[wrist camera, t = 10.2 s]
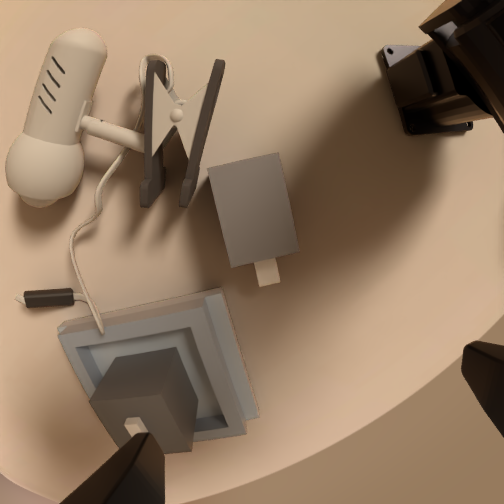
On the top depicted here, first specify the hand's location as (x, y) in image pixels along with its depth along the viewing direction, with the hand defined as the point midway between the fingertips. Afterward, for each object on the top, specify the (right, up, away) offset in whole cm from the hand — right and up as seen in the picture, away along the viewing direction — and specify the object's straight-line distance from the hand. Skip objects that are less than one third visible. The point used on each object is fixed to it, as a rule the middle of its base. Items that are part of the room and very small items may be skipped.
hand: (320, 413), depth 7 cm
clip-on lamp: (-11, +8, +11) cm, 17 cm away
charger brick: (-8, -5, +12) cm, 15 cm away
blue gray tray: (-8, -4, +13) cm, 16 cm away
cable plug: (-2, +7, +11) cm, 13 cm away
